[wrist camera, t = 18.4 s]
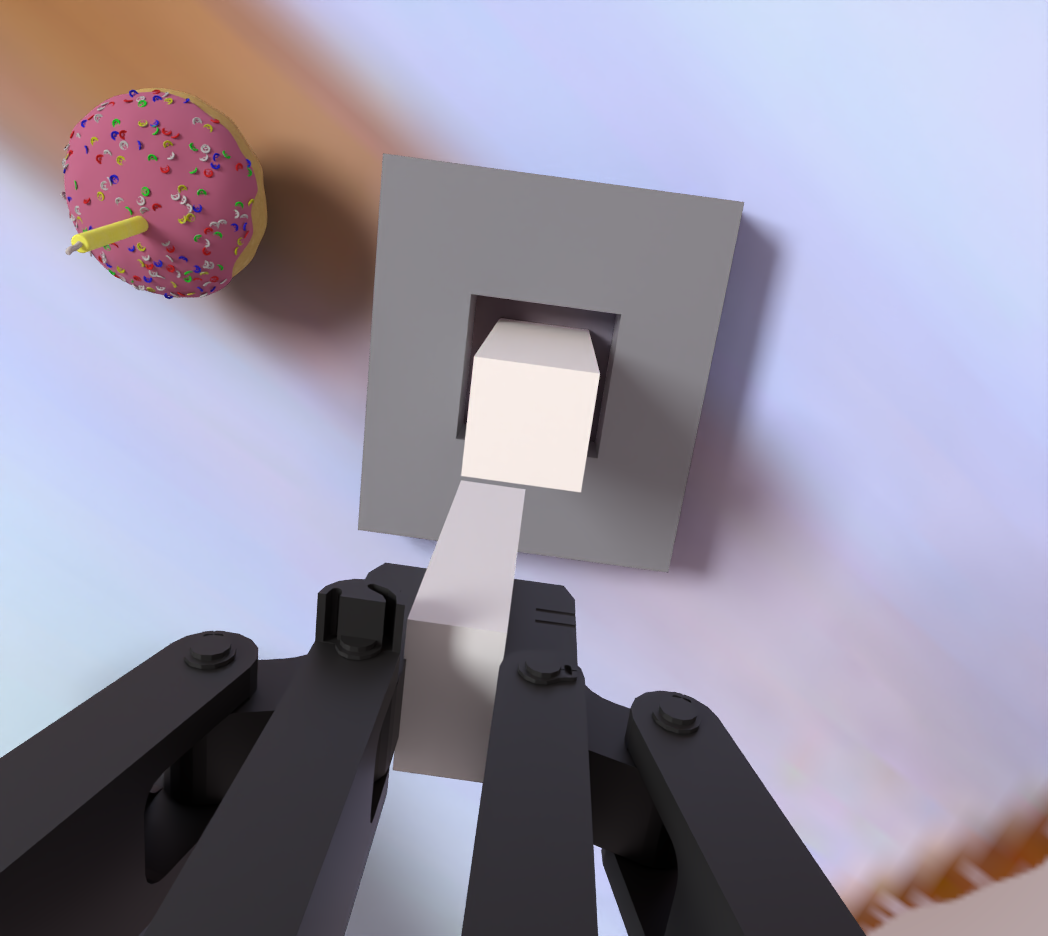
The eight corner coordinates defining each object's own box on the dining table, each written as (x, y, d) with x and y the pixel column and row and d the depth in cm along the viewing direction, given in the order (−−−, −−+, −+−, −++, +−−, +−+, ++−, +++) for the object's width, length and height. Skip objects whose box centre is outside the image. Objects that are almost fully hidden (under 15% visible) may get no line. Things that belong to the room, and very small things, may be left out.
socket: (660, 548, 42) (668, 572, 39) (371, 509, 42) (357, 529, 39) (729, 204, 36) (744, 202, 34) (396, 159, 36) (383, 153, 34)
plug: (575, 416, 40) (581, 492, 28) (489, 404, 40) (461, 476, 28) (588, 329, 38) (600, 373, 27) (500, 317, 39) (474, 356, 27)
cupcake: (304, 289, 39) (196, 316, 27) (140, 290, 39) (-36, 316, 28) (287, 102, 36) (158, 44, 25) (111, 105, 36) (-96, 50, 25)
